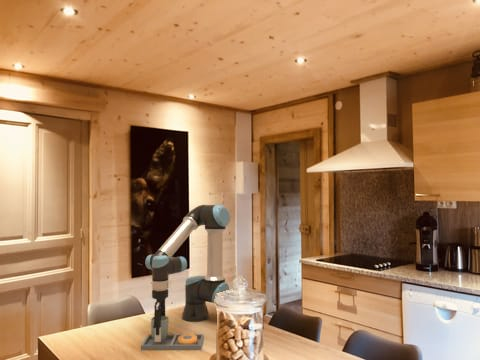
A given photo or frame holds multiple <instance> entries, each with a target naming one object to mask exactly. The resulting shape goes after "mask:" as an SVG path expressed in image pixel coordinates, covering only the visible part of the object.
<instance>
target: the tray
mask: <svg viewBox="0 0 480 360" xmlns="http://www.w3.org/2000/svg"><path fill="white" fill-rule="evenodd" d="M181 335H184V333H183V334H182V333H181V334H179V333H178V334H176V333H175V334H171V333H170V334H169V333H168V335H167V337H166V339H165V340H163V341H161V342H155V340H154V339H153V338H152V335H151V333H149V334H147V335H146V337H145V338H144V341H143V342H142V343H141V345H140V351H202V347H203V343H204V337H205V336H204V334H201V333H200V334H199V333H198V334H197V333H196V334H195V333H194V334H193V335H196V336H197V345H178V337H179V336H181Z"/></svg>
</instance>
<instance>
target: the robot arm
mask: <svg viewBox="0 0 480 360" xmlns="http://www.w3.org/2000/svg"><path fill="white" fill-rule="evenodd" d="M230 220H231V215H230V211H229V209H228V208H227V207H226V206H225V205H219V204H201V205H198V206H196V207H194V208H192V209H191V210H189V212H188V213H187V214H186V215H185V216H184V217H183V219H182V222H181V224H179V226H178V227H177V228H176V229H175V231H173V232H172V234H171V235H170V236H169V237H168V238H167V239H166V240H165V242H164V243H163V244H162V245H161V247H160V248H159V249H158V250H157V251H156V252H155V253H154V254H149V255H147V256H146V258H145V262H144V263H145V267H146V268H147V269H148V270H151V272H152V273H151V274H152V275H151V277H152V278H151V280H152V281H151V282H150V284H151V288H152V290H151V299H153V300H156V301H155V302H154V306H153V307H154V312H153V313H154V315H153V317H154V326H153V328H155V342H161V316H166V299H167V298H168V297H169V275H174V274H179V273H181V272H185V270H186V269H187V267H188V262H187V259H186V257H184V256H175V257H174V254H175V253H176V252H177V251H178V250H179V248H180V247H181V246H182V245H183V244H184V242H185V241H186V240H187V239H188V237H189V236H190V235H191V234H192V232H193V231H196V230H197V229H198V228H199V227H201V226H204V230H205V231H206V232H207V238H206V239H207V245H206V248H207V249H206V252H207V253H206V259H207V260H206V263H207V264H206V276H205V275H197V276H190V277H187V278H186V279H185V285H184V287H185V288H184V289H185V293H184V295H185V302H184V307H183V310H182V311H183V312H182V314H181V315H182V319H183V320H185V321H188V322H201V321H202V322H203V321H205V320H207V319H209V315H210V314H209V310H208V306H207V303H212V304H214V299H215V294H216V293H219V292H223V291H226V290H229V291H230V286H229V283H227V282H226V278H225V276H224V275H223V260H224V257H223V256H224V255H223V251H224V250H223V249H224V248H223V247H224V246H223V243H224V242H223V241H224V236H223V235H224V231H226V227H227V226H228V225H229V224H230ZM206 302H207V303H206Z"/></svg>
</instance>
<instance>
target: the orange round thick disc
mask: <svg viewBox="0 0 480 360" xmlns="http://www.w3.org/2000/svg"><path fill="white" fill-rule="evenodd" d="M183 334H184V333H183ZM178 345H197V336H196V335H193V334H192V333H185V334H184V335H181V336H179V337H178Z"/></svg>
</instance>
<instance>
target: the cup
mask: <svg viewBox="0 0 480 360" xmlns="http://www.w3.org/2000/svg"><path fill="white" fill-rule="evenodd" d="M153 326H154V316H153V317H151V319H150V334H151V335H152V338H153V339H154V340H155V328H153ZM168 334H169V316H167V315H165V316H161V341H163V340H165V339H166V337H167V335H168Z"/></svg>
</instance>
